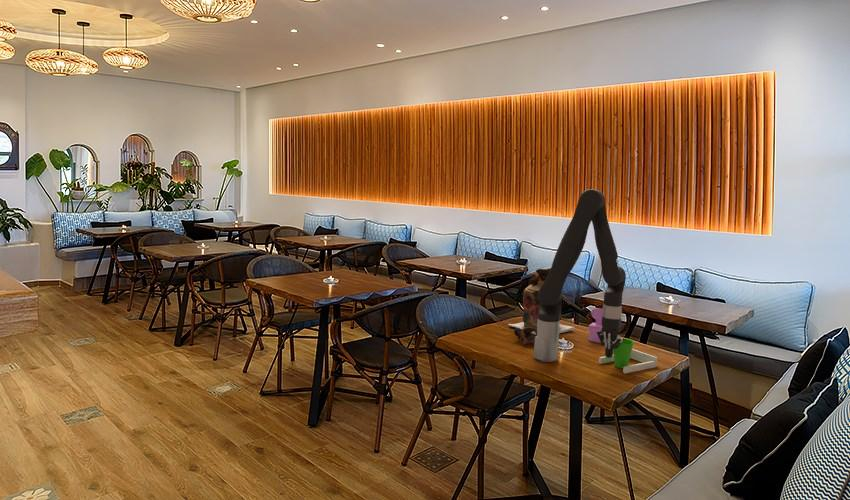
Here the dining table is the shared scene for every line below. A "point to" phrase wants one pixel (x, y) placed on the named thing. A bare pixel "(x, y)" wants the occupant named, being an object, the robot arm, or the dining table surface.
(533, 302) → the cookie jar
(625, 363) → the cup
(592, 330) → the toy chair
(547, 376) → the dining table surface
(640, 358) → the bay
